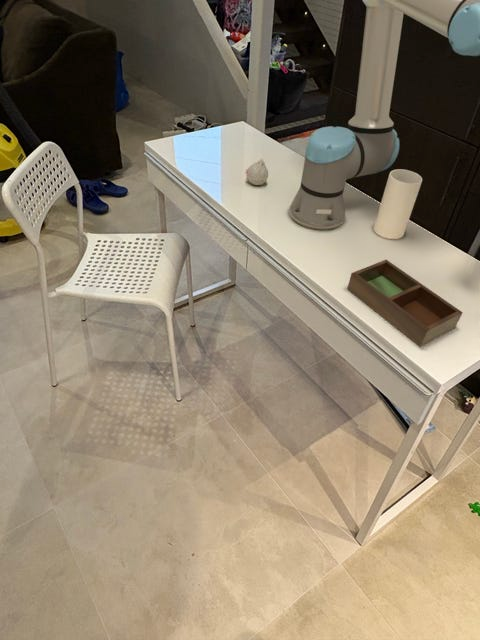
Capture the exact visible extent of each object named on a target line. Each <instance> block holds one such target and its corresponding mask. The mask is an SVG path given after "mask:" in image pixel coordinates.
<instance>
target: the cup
mask: <svg viewBox="0 0 480 640" xmlns="http://www.w3.org/2000/svg"><path fill="white" fill-rule="evenodd" d="M422 183H423V178H422V176H421V175H420V174H418V173H417V172H414V171H412V170H408V169H402V168H401V169H399V168H398V169H393V170H391V171H390V172H389V174H388V178H387V181H386V185H385V187H384V191H383V195H382V197H381V201H380V205H379V208H378V211H377V215H376V218H375V222H374V226H373V231H374V232H375V234H377V235H378V236H379V237H381V238H384V239H388V240H398V239H402V238H403V236H405V232H406V229H407V227H408V224H409V220H410V218H411V215H412V212H413V209H414V207H415V203H416V200H417V197H418V194H419V191H420V189H421V185H422Z"/></svg>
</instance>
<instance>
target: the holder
mask: <svg viewBox="0 0 480 640" xmlns="http://www.w3.org/2000/svg"><path fill="white" fill-rule="evenodd" d="M347 291H349V292H350V293H351V294H352V295H353V296H355V297H357V298H358V300H360V301H361V302H363V303H364V304H365V305H367V306H368V307H369V308H370V309H371V310H373V311H374V312H375V313H377V314H378V315H379V316H380V317H382V318H383V319H384V320H385V321H387V322H388V323H389V324H390V325H392V326H393V327H394V328H396V329H397V330H398V331H399V332H401V333H402V334H403V335H404V336H406V337H407V338H408V339H409V340H411V341H412V342H413V343H415V344H416V345H417V346H418V347H420V348H421V347H423V346H425V345H427V344H429V343H431V342H432V341H434V340H436V339H438V338H440V337H442V336H444V335H445V334H447V333H449V332H451V331H453V330H455V328H456V327H457V325H458V323H459V322H460V319H461V317H462V315H463V314H464V313H463V311H462V310H460V309H458V308H457V307H456V306H454V305H453V304H451V303H450V302H449V301H447V300H446V299H445V298H443V297H441V296H440V295H438V294H437V293H436V292H434V291H432V290H431V289H430V288H429V287H427V286H425V285H423V284H422V283H421V282H420V281H418V280H417V279H415V278H414V277H412V276H411V275H409V274H408V273H406V272H405V271H403V270H402V269H401V268H399V267H398V266H396V265H395V264H394V263H392V262H390V261H389V260H388V259H383V260H381V261H378V262H376V263H374V264H371V265H368V266H365V267H363V268H361V269H358V270H356V271H353V272H351V273H350V277H349V281H348V285H347Z"/></svg>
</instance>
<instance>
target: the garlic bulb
mask: <svg viewBox="0 0 480 640" xmlns="http://www.w3.org/2000/svg"><path fill="white" fill-rule="evenodd" d="M244 173H245V176H246V178H247V180H248V182H249V183H251V184H252V185H254V186H261V185H263V184H265V183H266V182H267V180H268V178H269V170H268V167H267V166H266V164H265V161H264V159H263V158H260V159H259V160H258V161H256V162H254V163H253V164H251V165H249V167H248V168H246V169H245V171H244Z"/></svg>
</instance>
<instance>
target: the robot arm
mask: <svg viewBox="0 0 480 640" xmlns="http://www.w3.org/2000/svg"><path fill="white" fill-rule="evenodd" d="M361 1H362V2H363V4H364V5H365V7H366V9H365V10H366V11H365V20H364V30H363V39H362V48H361V56H360V66H359V74H358V75H359V76H358V83H357V94H356V102H355V112H354V115H353V116H352V118H350V119H349V120H348V122H347V128H346V127H343V126H333V125H329V126H324V127H320V128H318V129H316V130H314V131H313V132H312V133H311V134H310V136H309V138H308V141H307V145H306V148H305V153H304V162H303V168H302V175H301V180H300V186H299V189H298V191H297V192H296V194H295V196H294V198H293V200H292V202H291V204H290V206H289V216H290V218H291V220H293V222H295V223H297V224H298V225H300V226H302V227H304V228H308V229H311V230H318V231H327V230H333V229H336V228H339V227H341V225H343V223H344V220H345V215H346V210H345V202H344V192H345V191H344V190H345V187H346V184H347V183H346V182H347V180H351V179H355V178H358V177H363V176H367V175H375V174H378V173H380V172H383V171H386V170H387V169H389V168H390V167H391V166H392V165H393V164H394V162H396V159H397V157H398V155H399V151H400V138H399V137H398V133H397V131H396V130H395V129H394V124H395V123H394V121H393V120H392V119H391V117H390V109H391V103H392V97H393V89H394V82H395V76H396V69H397V61H398V54H399V47H400V40H401V35H402V27H403V19H404V15H406V16H408V17H409V18H412V19H414V20H415V21H417V22H419V23H421V24H422V25H424V26H425V27H427V28H429V29H431V30H433V31H435V32H437V33H438V34H440V35H442V36H443V37H445V38H448V42H449V44H450V46H451V48H452V50H453V51H454V52H455V53H456V54H458V55H461V56H470V57H480V0H361Z"/></svg>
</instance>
